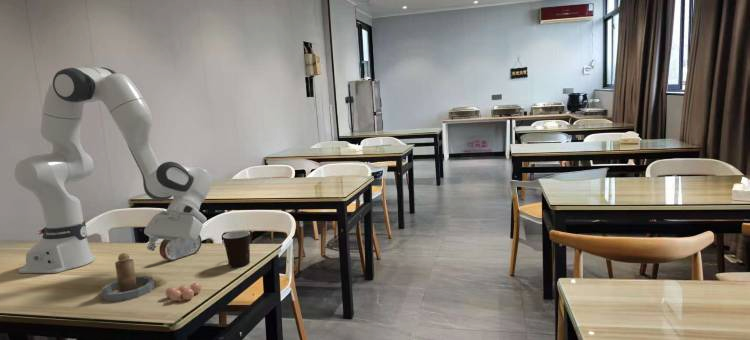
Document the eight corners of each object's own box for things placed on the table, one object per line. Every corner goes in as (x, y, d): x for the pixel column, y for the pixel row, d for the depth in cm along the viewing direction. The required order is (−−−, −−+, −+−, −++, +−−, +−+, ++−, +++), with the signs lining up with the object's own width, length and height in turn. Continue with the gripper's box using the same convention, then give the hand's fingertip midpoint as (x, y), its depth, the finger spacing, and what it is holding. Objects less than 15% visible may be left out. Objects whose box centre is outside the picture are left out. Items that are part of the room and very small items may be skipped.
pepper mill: (116, 295, 139) (110, 256, 137) (124, 289, 144) (118, 251, 142) (132, 294, 139) (127, 255, 137) (140, 287, 144) (134, 250, 142)
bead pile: (160, 304, 131) (159, 293, 130) (171, 293, 138) (169, 282, 138) (194, 301, 131) (193, 290, 130) (203, 290, 138) (202, 280, 138)
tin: (199, 250, 178) (196, 227, 177) (204, 251, 176) (201, 228, 175) (160, 263, 166) (157, 238, 165) (165, 264, 164) (162, 240, 163)
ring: (92, 302, 135) (91, 295, 134) (116, 284, 148) (115, 278, 147) (142, 299, 135) (141, 292, 135) (161, 281, 148) (160, 274, 148)
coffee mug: (245, 269, 154) (242, 238, 153) (220, 268, 156) (217, 238, 155) (261, 256, 166) (258, 228, 164) (238, 256, 167) (234, 228, 166)
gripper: (152, 206, 161) (130, 243, 153) (198, 209, 152) (177, 249, 144) (165, 215, 165) (144, 252, 158) (210, 219, 156) (190, 258, 149)
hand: (160, 251), depth 151 cm, fingers open, 8 cm apart
